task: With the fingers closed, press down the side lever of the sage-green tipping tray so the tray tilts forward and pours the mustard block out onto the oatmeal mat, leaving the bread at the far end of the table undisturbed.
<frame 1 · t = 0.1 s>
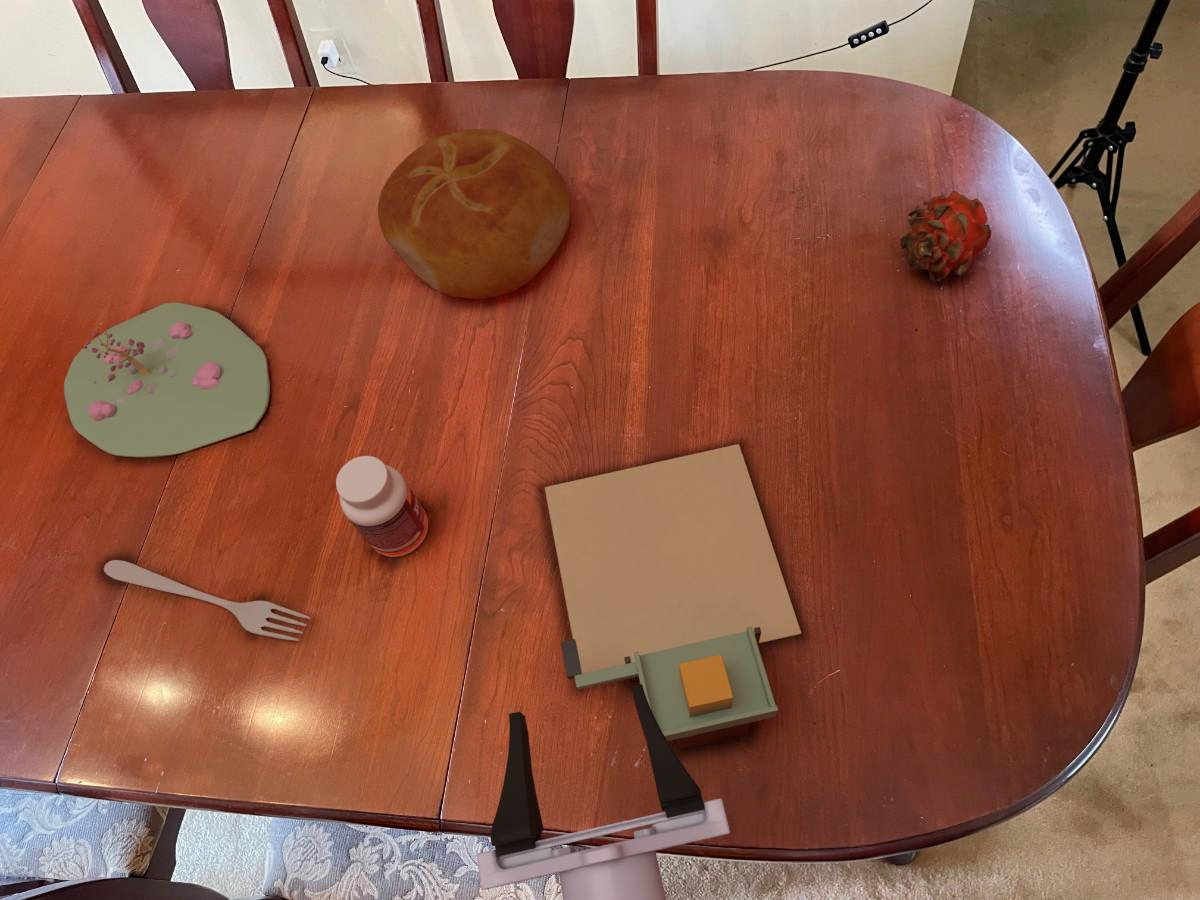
hand: (577, 701, 53), 22 cm above the table, tool horizontal, fingers open, 7 cm apart
mat: (665, 556, 80), on the table
fork: (206, 599, 83), on the table
pill bottle: (400, 530, 84), on the table
stand: (702, 703, 73), on the table
block: (705, 691, 67), point 6 cm above the table, touching tray
tray: (664, 675, 68), point 7 cm above the table, hinge at 0.0°, touching block
bread: (481, 237, 103), on the table
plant: (177, 381, 97), on the table
dragon fruit: (937, 257, 95), on the table
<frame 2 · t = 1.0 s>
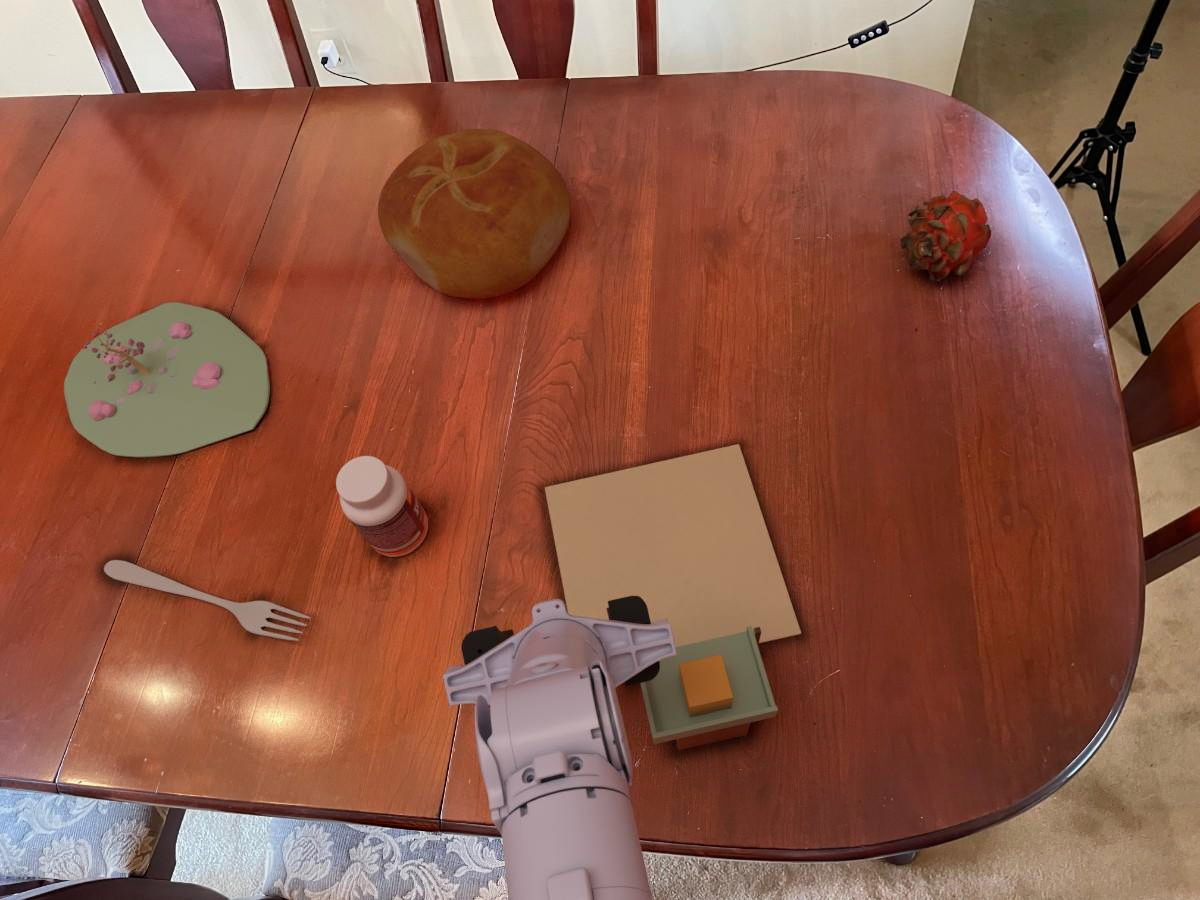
hand: (562, 632, 62), 15 cm above the table, tool tilted 30°, fingers open, 7 cm apart
nothing on the table moved.
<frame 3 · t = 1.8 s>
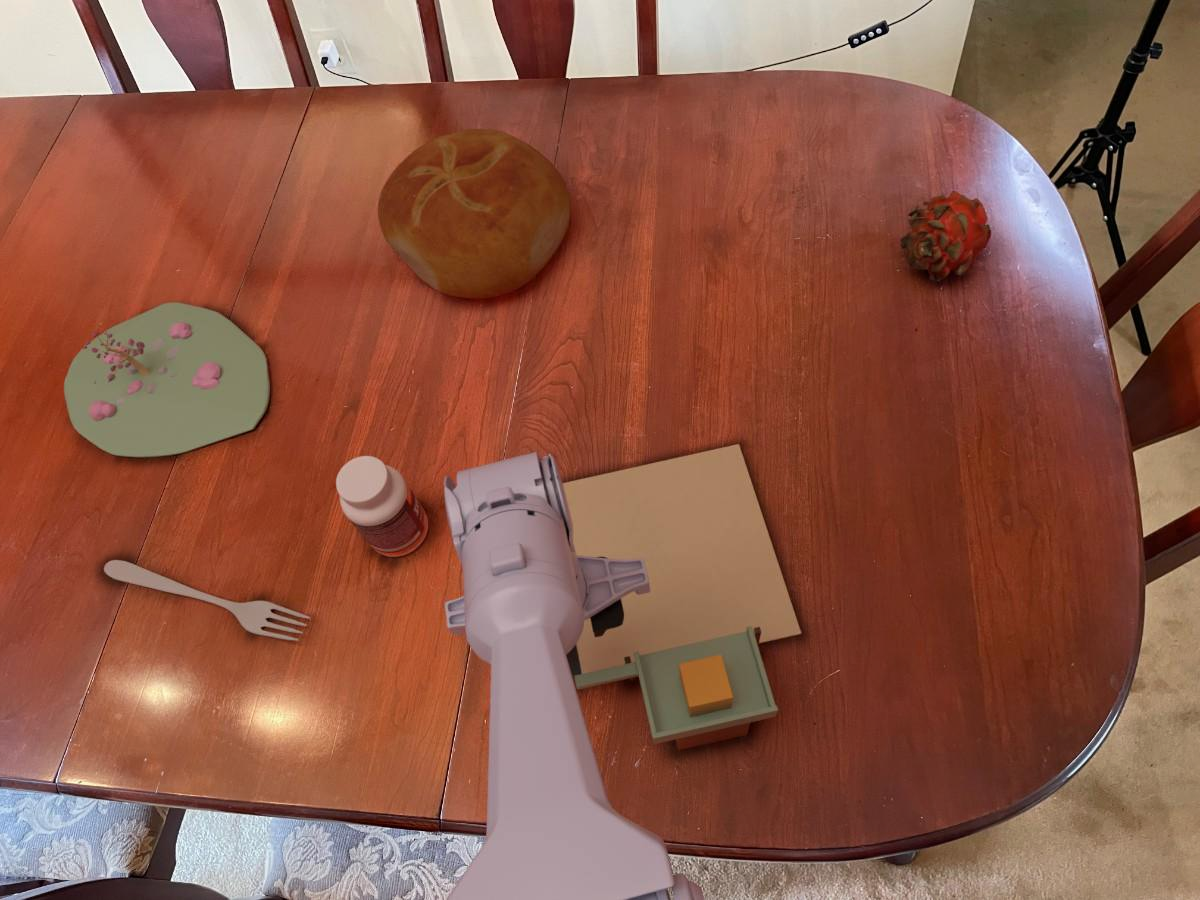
hand: (563, 632, 68), 9 cm above the table, tool pointing down, fingers open, 5 cm apart
nothing on the table moved.
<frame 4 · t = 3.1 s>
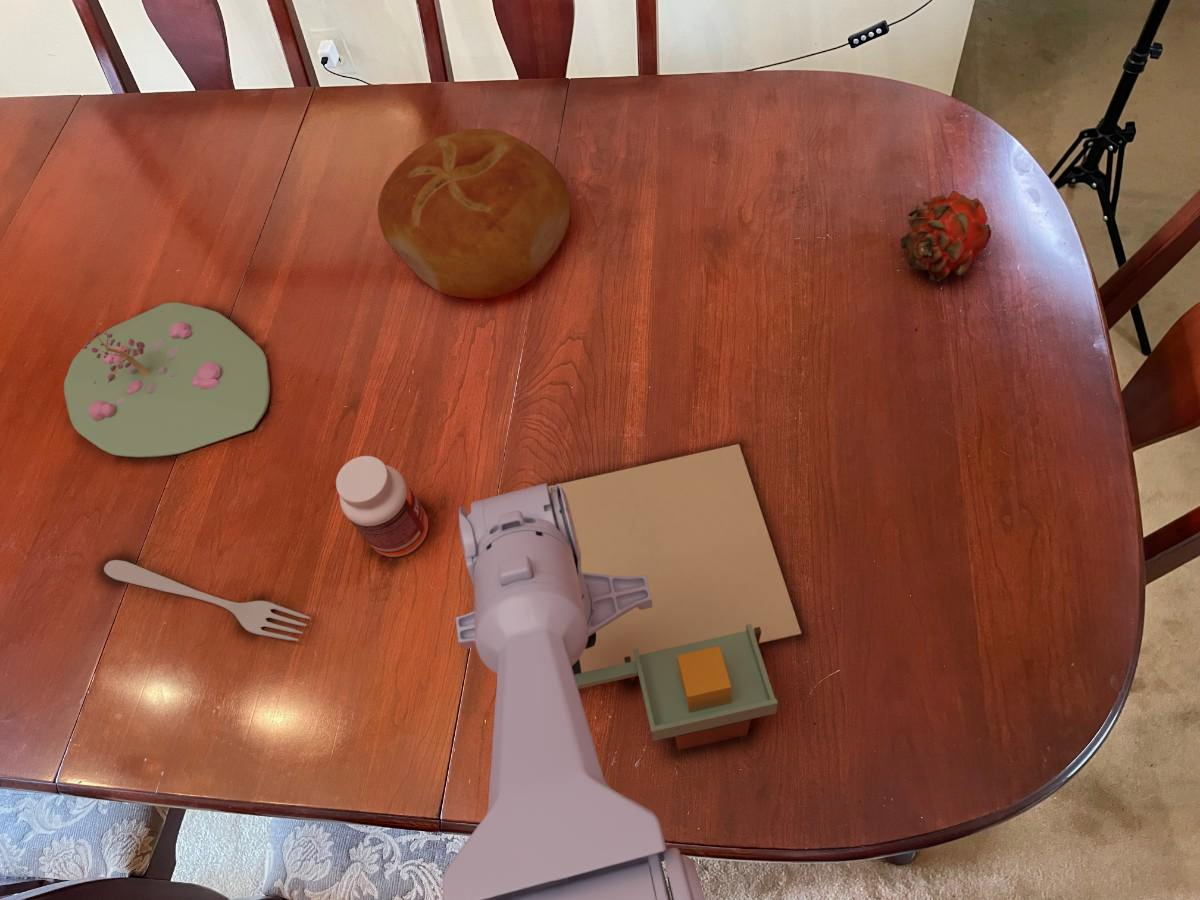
hand: (568, 642, 71), 6 cm above the table, tool pointing down, fingers closed, pressing on tray
block: (704, 687, 67), point 7 cm above the table, tilted 7°, touching tray
tray: (664, 673, 67), point 7 cm above the table, hinge at 7.6°, touching block, gripper
everything else where it was.
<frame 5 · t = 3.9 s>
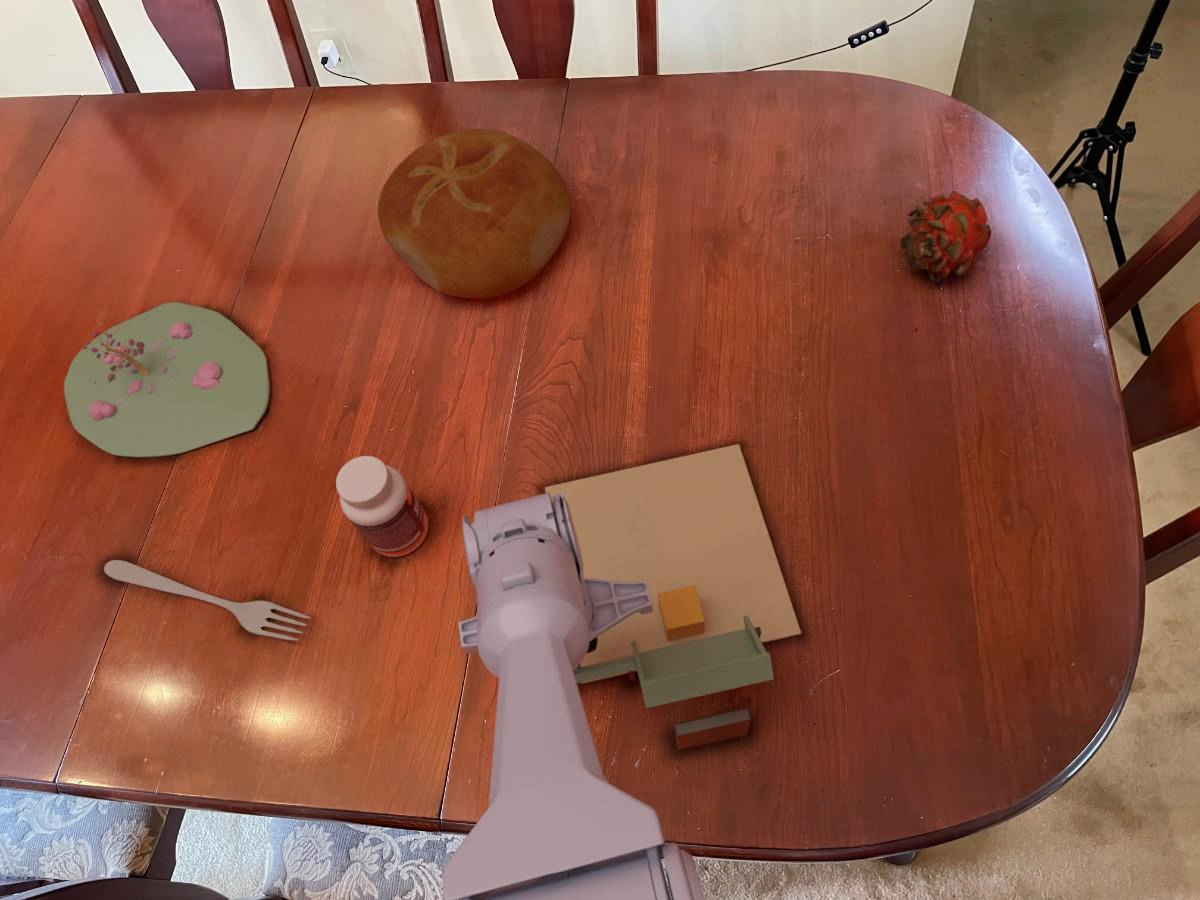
hand: (569, 645, 71), 5 cm above the table, tool pointing down, fingers closed, pressing on tray
block: (685, 631, 74), point 2 cm above the table, tilted 90°, touching mat
tray: (660, 656, 67), point 8 cm above the table, hinge at 41.4°, touching gripper
everything else where it was.
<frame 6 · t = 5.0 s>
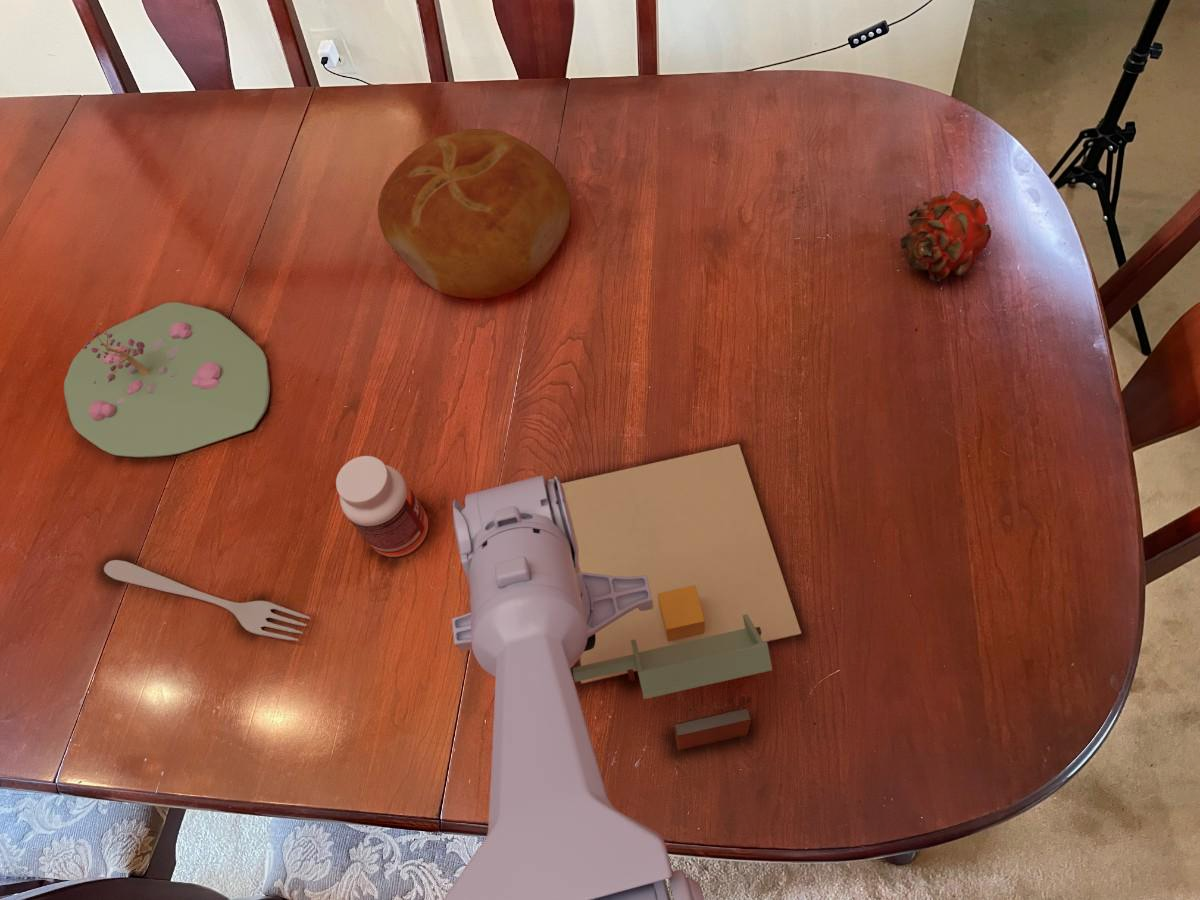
hand: (567, 646, 69), 8 cm above the table, tool pointing down, fingers closed
tray: (660, 653, 67), point 8 cm above the table, hinge at 47.8°
everything else where it was.
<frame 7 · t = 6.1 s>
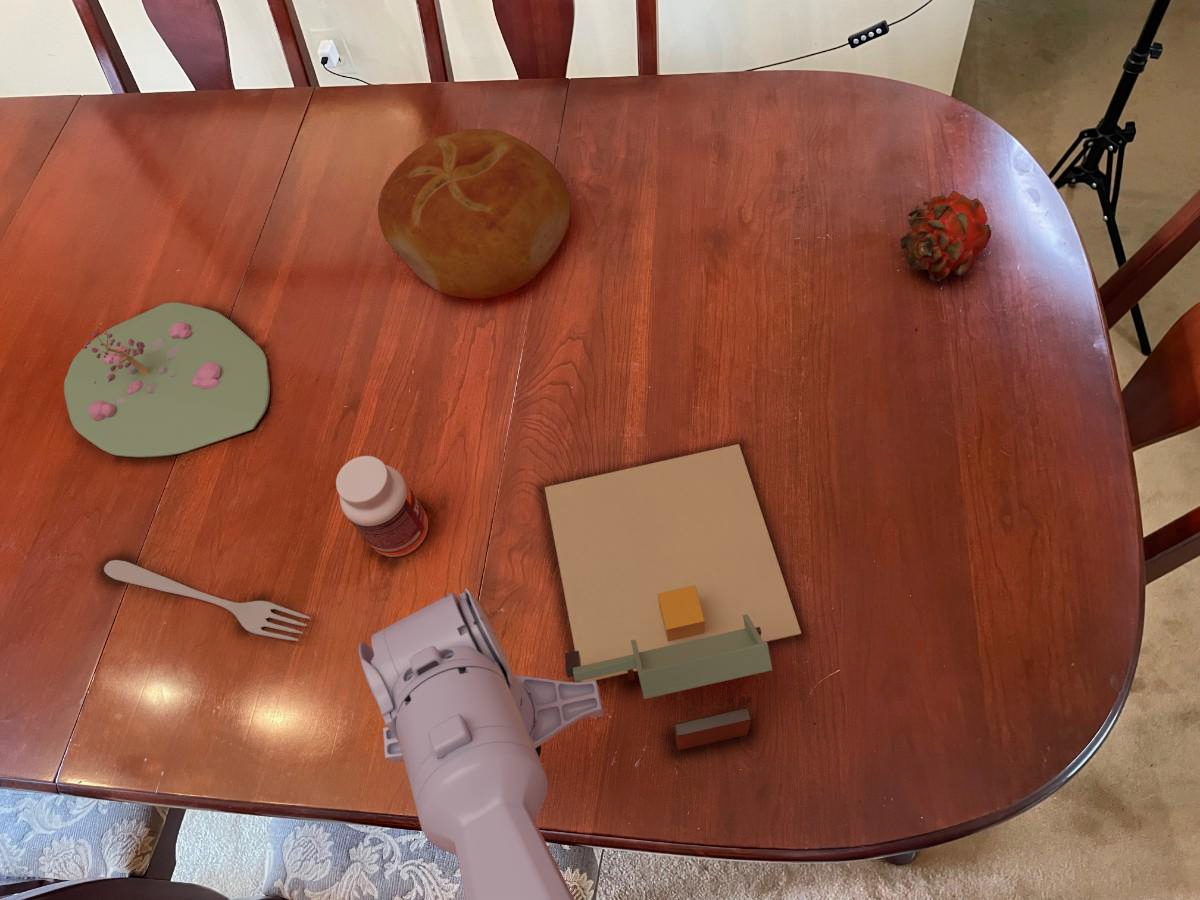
hand: (516, 745, 64), 9 cm above the table, tool pointing down, fingers closed
nothing on the table moved.
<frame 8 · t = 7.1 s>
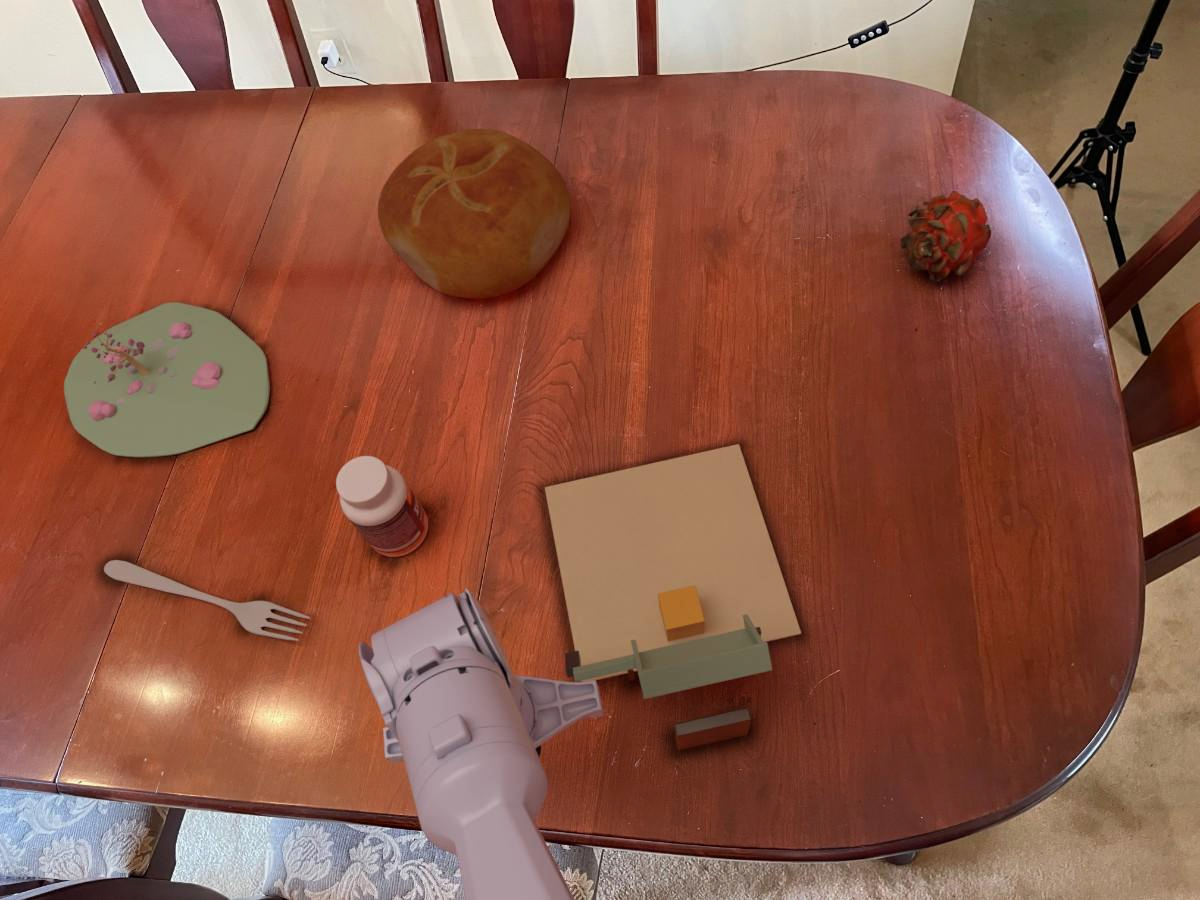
hand: (516, 745, 64), 9 cm above the table, tool pointing down, fingers closed
nothing on the table moved.
at the end: tray reached +48° during the clip, +48° at the end; block inside the target area on the mat (7.6 cm from its centre), point 2.0 cm above the mat's base; bread moved 0.2 cm from its start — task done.
